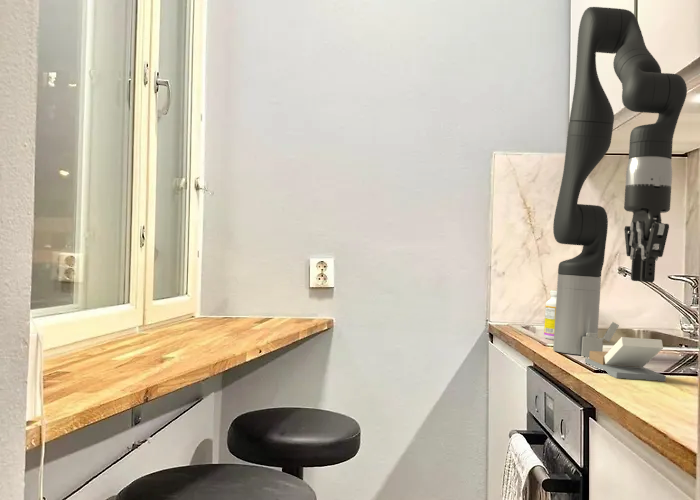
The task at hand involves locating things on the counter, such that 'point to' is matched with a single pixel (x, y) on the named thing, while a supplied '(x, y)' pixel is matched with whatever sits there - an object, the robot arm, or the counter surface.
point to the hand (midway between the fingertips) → (642, 281)
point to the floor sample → (622, 368)
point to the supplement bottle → (550, 316)
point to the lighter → (596, 340)
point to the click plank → (633, 351)
